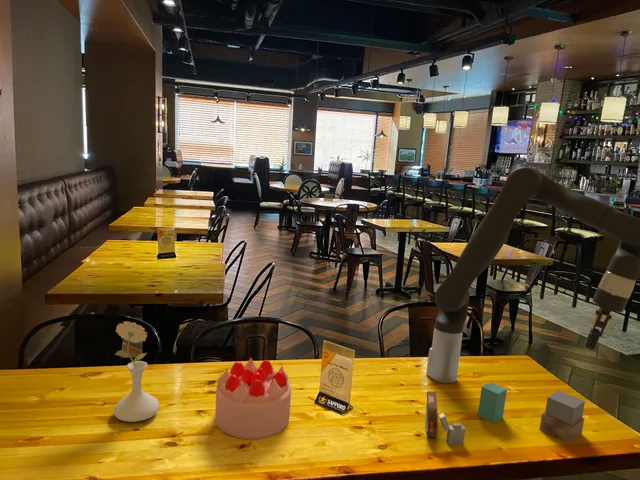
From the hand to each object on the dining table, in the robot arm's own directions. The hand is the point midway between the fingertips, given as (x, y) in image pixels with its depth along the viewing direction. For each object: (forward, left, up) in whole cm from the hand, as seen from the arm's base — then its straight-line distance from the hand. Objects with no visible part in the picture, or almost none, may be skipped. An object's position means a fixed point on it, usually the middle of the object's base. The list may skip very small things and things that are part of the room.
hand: (590, 344), depth 128 cm
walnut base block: (-2, -7, -25) cm, 26 cm away
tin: (-29, -32, -25) cm, 50 cm away
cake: (-65, -64, -25) cm, 95 cm away
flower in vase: (-88, -85, -25) cm, 125 cm away
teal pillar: (-19, -14, -24) cm, 34 cm away
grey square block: (-2, -7, -20) cm, 21 cm away
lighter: (-22, -35, -25) cm, 48 cm away
